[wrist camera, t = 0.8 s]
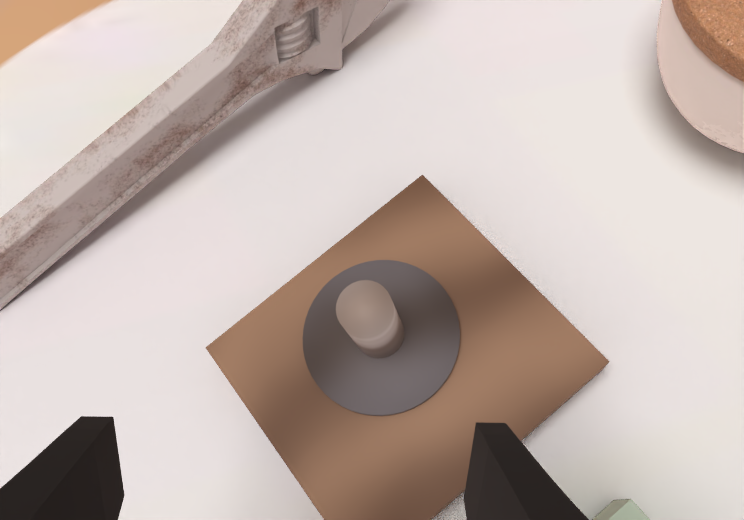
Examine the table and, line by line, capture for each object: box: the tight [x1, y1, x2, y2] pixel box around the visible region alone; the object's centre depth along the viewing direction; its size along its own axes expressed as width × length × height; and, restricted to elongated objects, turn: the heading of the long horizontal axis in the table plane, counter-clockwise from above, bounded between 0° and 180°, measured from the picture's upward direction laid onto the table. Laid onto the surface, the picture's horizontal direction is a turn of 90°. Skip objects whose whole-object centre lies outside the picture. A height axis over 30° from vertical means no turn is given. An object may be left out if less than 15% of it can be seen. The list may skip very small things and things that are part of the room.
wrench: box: [0, 0, 390, 309], centre depth 30 cm, size 8×2×30 cm
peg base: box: [206, 175, 609, 520], centre depth 24 cm, size 11×12×6 cm
